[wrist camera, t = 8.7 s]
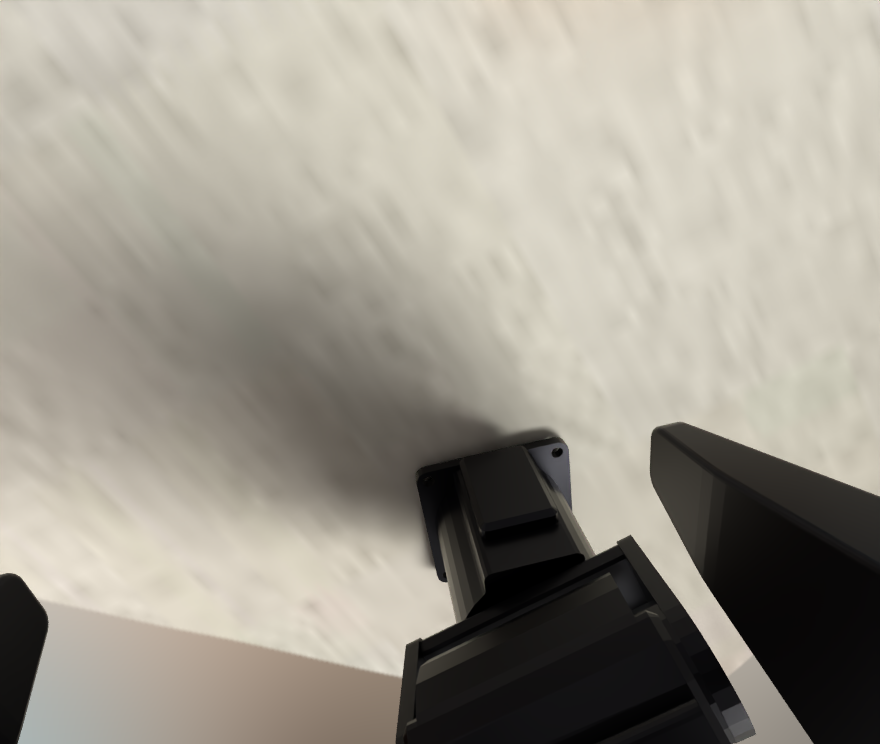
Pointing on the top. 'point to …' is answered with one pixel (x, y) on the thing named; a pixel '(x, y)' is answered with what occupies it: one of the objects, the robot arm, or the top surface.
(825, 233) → the top surface
